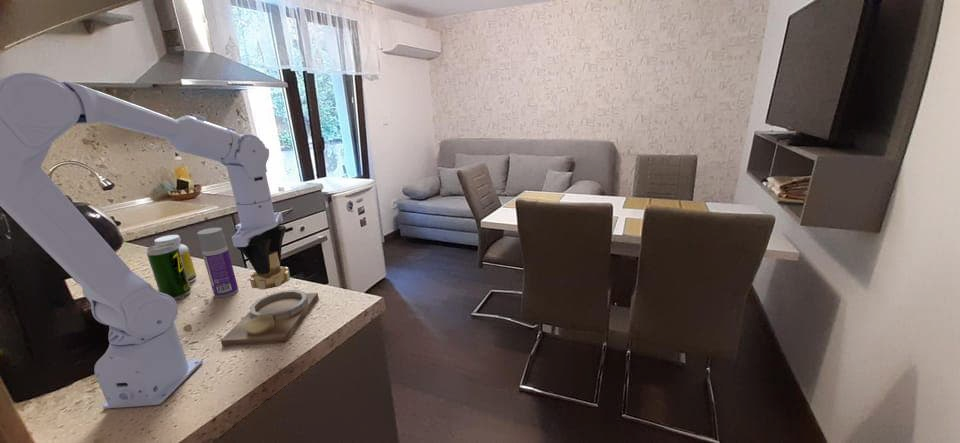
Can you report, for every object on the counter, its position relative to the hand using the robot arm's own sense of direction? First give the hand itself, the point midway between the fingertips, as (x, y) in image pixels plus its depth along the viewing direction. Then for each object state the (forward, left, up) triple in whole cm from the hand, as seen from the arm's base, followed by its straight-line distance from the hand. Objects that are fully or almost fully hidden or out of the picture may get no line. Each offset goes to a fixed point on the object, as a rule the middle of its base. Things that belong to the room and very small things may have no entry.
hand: (269, 268), depth 72 cm
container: (+11, +17, -10) cm, 22 cm away
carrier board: (-2, 0, -10) cm, 10 cm away
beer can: (+11, +28, -10) cm, 31 cm away
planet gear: (0, 0, -3) cm, 3 cm away
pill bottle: (+18, +32, -10) cm, 38 cm away
